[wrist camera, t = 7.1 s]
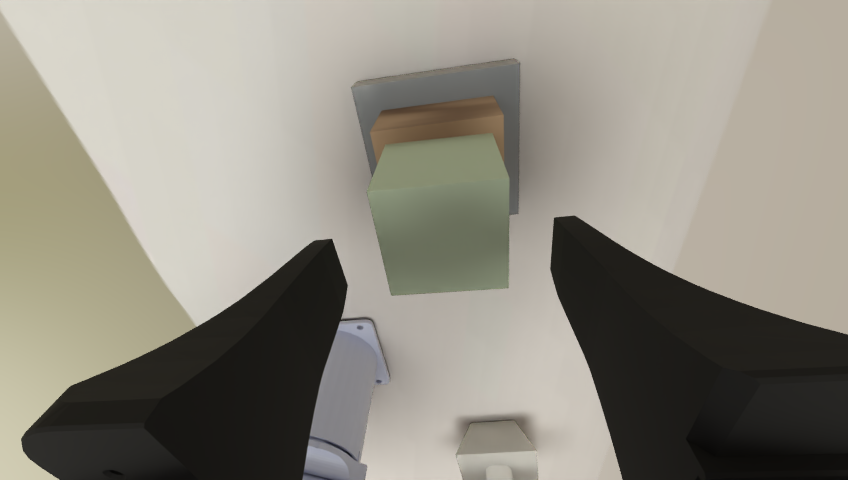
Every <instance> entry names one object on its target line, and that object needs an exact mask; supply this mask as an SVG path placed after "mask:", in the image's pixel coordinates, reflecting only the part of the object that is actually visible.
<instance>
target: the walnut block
mask: <svg viewBox="0 0 848 480" xmlns="http://www.w3.org/2000/svg"><path fill="white" fill-rule="evenodd" d="M486 133H493V136H494V139H495V141H496V144H497V147H498V149H499V152H500V154H501V157H502V160H503V162H504V115H503V113H502V111H501V109H500V107H499V105H498V104H497V102H496V100H495V98H494V96H485V97H478V98H471V99H463V100H456V101H448V102H441V103H433V104H426V105H419V106H411V107H404V108H396V109H389V110H382V111H381V113H380V114H379V116H378V118H377V120H376V122H375V124H374V126H373V127H372V129H371V131H370V135H371V139H372V144H373V148H374V153H375V157H376V162H377V164H378V162H379V159H380V157H381V154H382V152H383V149H384V147H385V145H386V144H395V143H404V142H413V141H422V140H432V139H441V138H450V137H459V136H468V135H477V134H486Z"/></svg>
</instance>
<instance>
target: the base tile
mask: <svg viewBox="0 0 848 480" xmlns="http://www.w3.org/2000/svg"><path fill="white" fill-rule="evenodd" d="M351 89H352V93H353V97H354V101H355V106H356V110H357V114H358V118H359V123H360V127H361V131H362V135H363V140H364V144H365V148H366V152H367V157H368V161H369V165H370V169H371V173H372V177H373V175H374V172H375V170H376V167H377V162H376V157H375V153H374V148H373V144H372V139H371V135H370V131H371V129H372V127H373V126H374V124H375V122H376V120H377V118H378V116H379V114H380V113H381V111H382V110H389V109H396V108H404V107H411V106H419V105H426V104H433V103H441V102H448V101H456V100H463V99H471V98H478V97H485V96H494V98H495V100H496V102H497V104H498V105H499V107H500V109H501V111H502V113H503V115H504V165H505V168H506V170H507V173H508V176H509V215H513V214H518V209H519V101H520V63H519V62H518V61H517V60H515V59H509V60H502V61H495V62H488V63H481V64H474V65H468V66H461V67H454V68H447V69H440V70H433V71H426V72H419V73H413V74H406V75H399V76H392V77H385V78H378V79H371V80H364V81H358V82H356V83H355V84H354V85H353V86H352V87H351Z"/></svg>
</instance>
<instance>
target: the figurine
mask: <svg viewBox="0 0 848 480" xmlns="http://www.w3.org/2000/svg"><path fill="white" fill-rule="evenodd" d="M456 458H457V461H458V464H459V468H460V471H461V474H462V478H463V480H538V466H537V450H536V449H535V448H534V446H533V445H532V444H531V442H530V441H529V440H528V438H527V437H526V436H525V434H524V433H523V432H522V430H521V429H520V427H519V426H518V425H517V423H516V422H515V421H514V420H511V421H495V422H480V423H471V424H470V426H469V428H468V430H467V432H466V434H465V436H464V439H463V441H462V443H461V445H460V447H459V449H458V451H457V453H456Z"/></svg>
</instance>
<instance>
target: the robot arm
mask: <svg viewBox="0 0 848 480" xmlns="http://www.w3.org/2000/svg"><path fill="white" fill-rule="evenodd" d="M550 270H551V273H552V277H553V281H554V284H555V288H556V291H557V294H558V297H559V299H560V302H561V304H562V306H563V309H564V311H565V313H566V316H567V318H568V320H569V322H570V324H571V327H572V329H573V331H574V333H575V336H576V338H577V340H578V342H579V345H580V347H581V349H582V351H583V353H584V356H585V358H586V361H587V363H588V366H589V368H590V371H591V374H592V378H593V381H594V384H595V387H596V390H597V393H598V396H599V399H600V402H601V406H602V409H603V412H604V416H605V419H606V422H607V426H608V429H609V432H610V436H611V439H612V443H613V446H614V450H615V453H616V457H617V460H618V464H619V467H620V471H621V475H622V479H623V480H848V335H847V334H843V333H840V332H836V331H832V330H828V329H824V328H821V327H817V326H813V325H809V324H805V323H802V322H799V321H796V320H792V319H789V318H786V317H783V316H780V315H776V314H773V313H770V312H767V311H764V310H760V309H758V308H754V307H752V306H749V305H746V304H743V303H740V302H738V301H735V300H732V299H730V298H727V297H725V296H722V295H720V294H717V293H714V292H711V291H709V290H707V289H704V288H702V287H700V286H697V285H695V284H693V283H690V282H688V281H686V280H684V279H682V278H680V277H678V276H675V275H673V274H671V273H669V272H667V271H665V270H663V269H661V268H659V267H657V266H655V265H653V264H652V263H650V262H648V261H646V260H644V259H643V258H641V257H639V256H637V255H636V254H634V253H632V252H631V251H629V250H627V249H626V248H624V247H622V246H621V245H619V244H617V243H616V242H614V241H613V240H611V239H610V238H608V237H607V236H605V235H604V234H602V233H601V232H599V231H598V230H596V229H595V228H593V227H592V226H590V225H589V224H587V223H585V222H584V221H582V220H581V219H579V218H578V217H576V216H566V217H556V218H554V226H553V240H552V254H551V267H550ZM347 287H348V285H347V282H346V279H345V276H344V273H343V270H342V267H341V264H340V261H339V258H338V255H337V252H336V249H335V246H334V243H333V241H332V239H326V240H316V241H313V242H312V243H310V244H309V245H308V246H306V247H305V248H304V249H303V250H301V251H300V252H299V253H298V254H297V255H295V256H294V257H293V258H292V259H291V260H290V261H288V262H287V263H286V264H285V265H284V266H282V267H281V268H280V269H279V270H278V271H276V272H275V273H274V274H273V275H272V276H270V277H269V278H268V279H266V280H265V281H264V282H263V283H261V284H260V285H259V286H257V287H256V288H255V289H253V290H252V291H251V292H250V293H248V294H247V295H246V296H244V297H243V298H242V299H240V300H239V301H237V302H236V303H234V304H233V305H231V306H230V307H228V308H227V309H225V310H224V311H222V312H221V313H219V314H218V315H216V316H215V317H213V318H211V319H210V320H208V321H206V322H205V323H203V324H201V325H199V326H198V327H196V328H194V329H192V330H190V331H189V332H187V333H185V334H183V335H182V336H180V337H178V338H176V339H174V340H173V341H171V342H169V343H167V344H165V345H163V346H161V347H159V348H157V349H155V350H153V351H151V352H148V353H146V354H144V355H142V356H140V357H138V358H136V359H134V360H131V361H129V362H127V363H125V364H123V365H120V366H118V367H116V368H113V369H111V370H108V371H106V372H104V373H101V374H99V375H96V376H94V377H92V378H89V379H87V380H85V381H82V382H79V383H77V384H74V385H72V386H70V387H69V388H68V389H67V390H66V391H65V392H64V393H63V394H62V395H61V396H60V397H59V398H58V399H57V400H56V401H55V402H54V403H53V405H52V406H50V407H49V409H48V410H47V411H46V412H45V413H44V414H43V415H42V416H41V417H40V418H39V419H38V420H37V421H36V422H35V423H34V424H33V425H32V426H31V427H30V428H29V429H28V430H27V431H26V432H25V434H24V436H23V437H22V439H21V441H22V447H23V451H24V452H25V454H26V455H27V456H28V458H29V459H30V460H32V461H33V462H35V463H36V464H37V465H38V466H40V467H41V468H43V469H44V470H46V471H47V472H49V473H50V474H52V475H53V476H55V477H56V478H58V479H59V480H365V477H366V471H367V465H365V464H362V463H360V461H361V455H362V450H363V444H364V438H365V433H366V427H367V421H368V416H369V410H370V404H371V399H372V393H373V387H374V385H382V384H388V383H389V382H390V376H389V373H388V370H387V366H386V363H385V360H384V357H383V354H382V350H381V347H380V344H379V341H378V337H377V334H376V331H375V328H374V325H373V322H372V321H370V320H351V321H340V320H341V317H342V314H343V310H344V305H345V299H346V293H347ZM359 325H361V326H359Z"/></svg>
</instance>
